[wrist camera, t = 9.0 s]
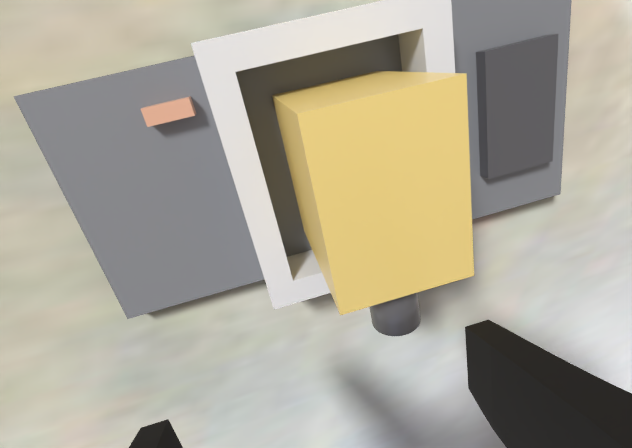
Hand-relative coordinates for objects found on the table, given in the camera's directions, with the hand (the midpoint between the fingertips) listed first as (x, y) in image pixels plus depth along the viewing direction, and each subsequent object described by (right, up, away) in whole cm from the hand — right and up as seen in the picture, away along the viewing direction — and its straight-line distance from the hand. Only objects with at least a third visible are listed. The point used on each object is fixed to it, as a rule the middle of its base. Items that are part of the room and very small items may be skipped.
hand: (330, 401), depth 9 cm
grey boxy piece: (0, +7, +7) cm, 10 cm away
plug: (+1, +7, +6) cm, 9 cm away
